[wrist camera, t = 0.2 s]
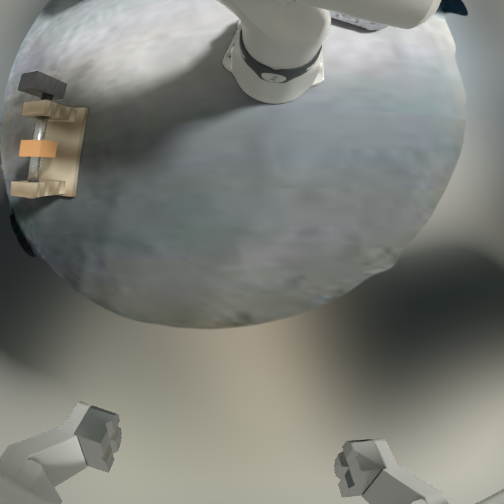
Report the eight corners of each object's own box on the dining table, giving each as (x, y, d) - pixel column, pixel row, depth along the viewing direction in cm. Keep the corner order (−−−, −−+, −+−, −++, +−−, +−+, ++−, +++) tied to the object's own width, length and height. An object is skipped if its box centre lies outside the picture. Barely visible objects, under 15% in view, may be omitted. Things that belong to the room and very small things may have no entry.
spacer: (37, 141, 44) (21, 140, 39) (57, 141, 45) (41, 139, 39) (35, 157, 45) (18, 156, 40) (55, 157, 45) (38, 156, 40)
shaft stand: (52, 110, 48) (17, 100, 36) (88, 108, 49) (55, 96, 37) (40, 192, 52) (3, 197, 40) (75, 196, 53) (40, 201, 41)
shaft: (51, 85, 42) (22, 73, 32) (66, 84, 42) (37, 70, 32) (34, 195, 47) (1, 200, 37) (48, 197, 47) (15, 202, 37)
